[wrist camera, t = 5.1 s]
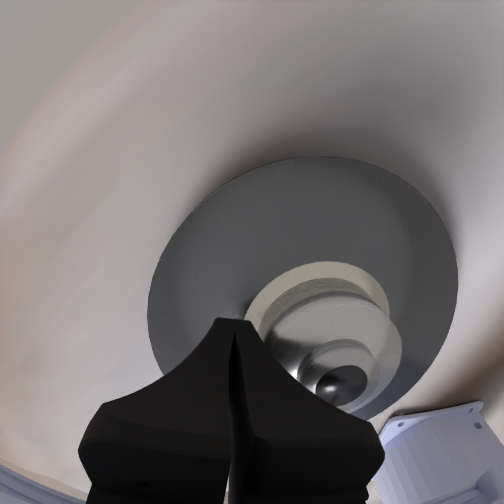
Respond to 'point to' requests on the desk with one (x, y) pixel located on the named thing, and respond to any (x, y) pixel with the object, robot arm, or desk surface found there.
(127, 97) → the desk surface
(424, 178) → the desk surface
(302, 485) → the robot arm
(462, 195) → the desk surface
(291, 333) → the cover
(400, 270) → the turntable
